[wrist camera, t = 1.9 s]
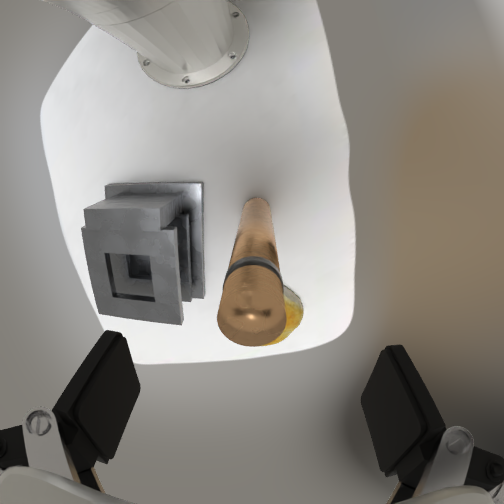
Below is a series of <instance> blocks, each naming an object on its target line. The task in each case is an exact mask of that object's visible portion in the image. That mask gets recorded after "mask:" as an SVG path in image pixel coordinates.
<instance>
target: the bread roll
mask: <svg viewBox="0 0 504 504" xmlns="http://www.w3.org/2000/svg"><path fill="white" fill-rule="evenodd" d="M283 289H284V293H283V295H284V302H285V309H286V317H287V321H286V326H285V329H284V331H283V332H282V334H281V335H280V336H279V337H278V338H277V339H275V340H274V341H272V342H270V343H268V344H265V345H262V346H267V345H272V344H276V343H279V342H281V341H282V340H284V339H285V338H286V337H288V335H289V334H290V333H291V332H292V331H293V330H294V329H295V328H297V327H298V325H299V324H300V322H301V320H302V318H303V306H302V303H301V301H300V299H299V298H298V297H297V296H296V295H295V294H294V293H293V292H292V291H291V290H289V289H288V288H286V287H285V286H283Z"/></svg>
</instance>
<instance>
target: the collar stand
mask: <svg viewBox="0 0 504 504" xmlns="http://www.w3.org/2000/svg"><path fill="white" fill-rule="evenodd" d="M105 198H106V199H105V200H103V201H100V202H98V203H96V204H94V205H91V206H89V207H87V208H85V209H84V217H85V226H83V227H82V228H81V230H82V237H83V243H84V249H85V255H86V260H87V265H88V270H89V275H90V280H91V284H92V289H93V293H94V297H95V301H96V305H97V308H98V312H99V314H103V315H109V316H115V317H122V318H128V319H135V320H142V321H150V322H158V323H166V324H175V325H182V323H183V320H184V316H183V307H182V301H185V302H191V300H192V298H201V299H204V296H205V283H204V251H203V183H196V182H171V183H129V184H109V185H106V186H105Z"/></svg>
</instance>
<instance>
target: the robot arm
mask: <svg viewBox="0 0 504 504" xmlns="http://www.w3.org/2000/svg"><path fill="white" fill-rule="evenodd" d="M41 1H45V2H47V3H50V4H53V5H56V6H58V7H60V8H63V9H65V10H67V11H69V12H71V13H73V14H75V15H77V16H79V17H81V18H83V19H84V20H86V21H88V22H90V23H91V24H93V25H95V26H96V27H98V28H100V29H102V30H103V31H105V32H107V33H108V34H110V35H112V36H113V37H115V38H117V39H118V40H120V41H121V42H123V43H124V44H126V45H128V46H129V47H131V48H132V49H134V50H135V51H137V56H138V61H139V63H140V66H141V68H142V69H143V70H144V72H145V73H146V74H147V75H148V76H149V77H151V78H152V79H153V80H155V81H156V82H158V83H160V84H163V85H166V86H169V87H174V88H193V87H198V86H203V85H205V84H208V83H211V82H213V81H215V80H217V79H219V78H221V77H223V76H224V75H225V74H227V73H228V72H229V71H231V70H232V69H233V68H234V67H235V66H236V65H237V64H238V62H239V61H240V59H241V58H242V56H243V55H244V53H245V51H246V48H247V46H248V40H249V29H248V24H247V21H246V18H245V16H244V14H243V13H242V12H241V11H240V9H239V8H238V7H236V6H235V5H234V4H232V3H231V2H229V1H227V0H41ZM234 17H237V18H234ZM232 56H235V58H234V59H231V57H232ZM148 63H150V64H149V65H148ZM187 80H190V81H189V82H188V83H186V81H187ZM139 393H140V383H139V380H138V377H137V374H136V370H135V368H134V364H133V361H132V357H131V354H130V351H129V347H128V344H127V340H126V338H125V337H123V336H122V334H121V333H120V332H115V331H110V330H106V331H105V332H104V333H103V334H102V336H101V337H100V338H99V340H98V341H97V343H96V344H95V346H94V347H93V348H92V350H91V351H90V353H89V354H88V355H87V357H86V358H85V360H84V361H83V363H82V364H81V366H80V367H79V369H78V370H77V372H76V373H75V375H74V376H73V378H72V379H71V381H70V382H69V384H68V385H67V387H66V389H65V390H64V392H63V393H62V395H61V396H60V398H59V399H58V401H57V403H56V404H55V406H54V408H53V409H52V411H51V410H49V409H48V408H45V407H35V408H32V409H31V410H29V411H28V412H27V413H26V414H25V416H24V418H23V424H22V425H19V426H15V427H12V428H8V429H4V430H0V504H135V503H132V502H128V501H125V500H122V499H119V498H116V497H113V496H110V495H108V494H106V493H105V491H104V489H103V487H102V485H101V482H100V480H99V478H98V476H97V473H96V471H95V469H94V465H95V462H96V460H97V461H100V462H102V463H105V464H108V461H109V459H112V458H113V457H114V455H115V452H116V450H117V448H118V445H119V442H120V440H121V437H122V434H123V432H124V429H125V427H126V424H127V422H128V420H129V417H130V414H131V412H132V410H133V407H134V405H135V402H136V400H137V398H138V395H139ZM361 405H362V408H363V411H364V414H365V418H366V421H367V424H368V428H369V431H370V434H371V438H372V441H373V445H374V449H375V452H376V456H377V459H378V463H379V467H380V470H381V471H382V472H385V476H386V477H389V476H393V475H396V474H397V475H398V478H399V482H398V483H397V485H396V487H395V489H394V491H393V493H392V494H391V496H390V498H389V500H388V501H387V503H386V504H504V459H503V458H502V457H501V456H499V455H496V454H493V453H490V452H488V451H485V450H482V449H480V448H477V447H475V446H474V441H473V437H472V435H471V434H470V432H469V431H468V430H467V429H465V428H463V427H459V426H455V427H451V428H449V429H446V427H445V423H444V421H443V419H442V417H441V415H440V413H439V411H438V409H437V407H436V405H435V403H434V401H433V399H432V397H431V395H430V393H429V391H428V390H427V388H426V386H425V384H424V382H423V380H422V379H421V377H420V375H419V373H418V371H417V370H416V368H415V366H414V364H413V362H412V361H411V359H410V357H409V356H408V354H407V352H406V350H405V349H404V347H403V346H402V345H391V346H387V347H386V348H385V349H384V350H382V351H381V353H380V355H379V358H378V360H377V363H376V365H375V367H374V370H373V372H372V374H371V376H370V379H369V381H368V383H367V385H366V387H365V389H364V391H363V393H362V396H361Z"/></svg>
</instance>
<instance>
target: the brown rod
mask: <svg viewBox="0 0 504 504" xmlns="http://www.w3.org/2000/svg"><path fill="white" fill-rule="evenodd" d="M283 293H284V289H283V282H282V276H281V273H280V268H279V262H278V255H277V249H276V242H275V236H274V230H273V223H272V217H271V211H270V207H269V205H268V203H267V202H266V201H265V200H263V199H261V198H252V199H250V200H248V201H247V202H246V203H245V205H244V208H243V212H242V216H241V220H240V224H239V227H238V231H237V235H236V239H235V244H234V248H233V252H232V256H231V260H230V264H229V268H228V271H227V273H226V276H225V280H224V285H223V293H222V297H221V301H220V306H219V310H218V314H217V322H218V326H219V328H220V330H221V332H222V333H223V334H224V335H225V336H226V337H227V338H228V339H229V340H231V341H233V342H235V343H237V344H240V345H243V346H262V345H265V344H268V343H270V342H272V341H274V340H275V339H277V338H278V337H279V336H280V335H281V334H282V332H283V331H284V329H285V326H286V321H287V317H286V309H285V302H284V295H283Z"/></svg>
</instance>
